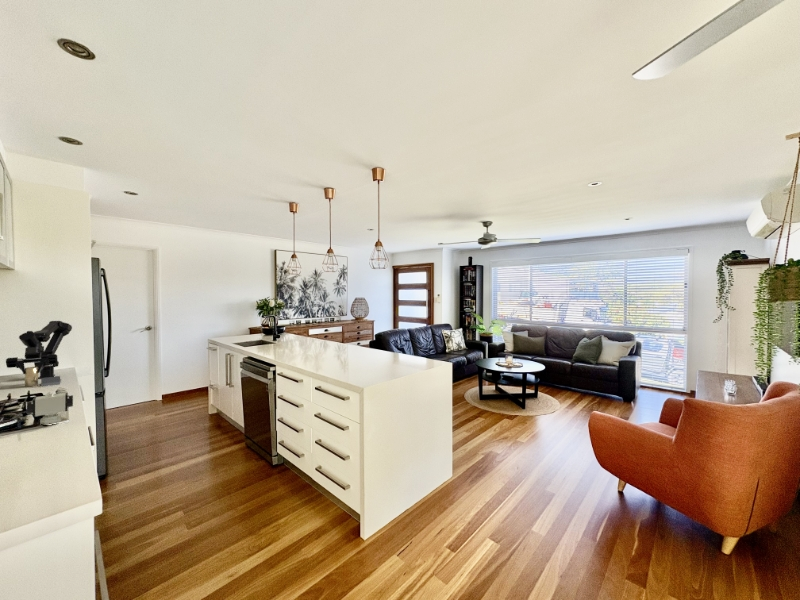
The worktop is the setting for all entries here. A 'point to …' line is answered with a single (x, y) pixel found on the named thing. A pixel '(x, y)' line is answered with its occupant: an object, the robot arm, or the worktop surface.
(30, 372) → the ball
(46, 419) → the pneumatic valve
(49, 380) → the press bed
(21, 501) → the worktop surface
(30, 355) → the robot arm
